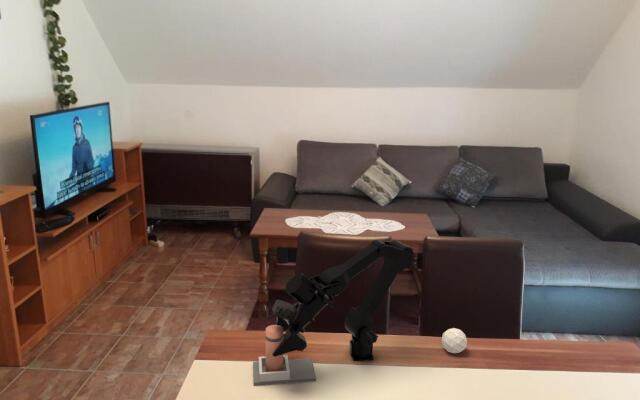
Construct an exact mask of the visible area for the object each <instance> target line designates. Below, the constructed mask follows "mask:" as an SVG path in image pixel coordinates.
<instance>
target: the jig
mask: <svg viewBox="0 0 640 400" xmlns="http://www.w3.org/2000/svg"><path fill="white" fill-rule="evenodd" d="M288 357H289V356H288V354H283V371H275V372H266V355H265V356H263V355H262V356H258V361H253V362H252V365H253V366H252V370H253V371H252V373H253V374H252V376H253V379H252V380H253V386H255V387H256V386H266V385H283V384H294V383H295V384H296V383H297V384H298V383H308V382H309V383H313V382H317V376H316V375H317V374H316V371H315V366H314V361H313V358H312V357H309V358H295V359H294V358H293V359H289V358H288Z"/></svg>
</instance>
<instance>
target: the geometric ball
mask: <svg viewBox="0 0 640 400" xmlns="http://www.w3.org/2000/svg"><path fill="white" fill-rule="evenodd" d="M441 343H442V347H443V348H444V350H446V351H447V352H449V353H451V354H458V353H461V352H462V351H464V350H465V349H466V347H467V343H468V341H467V336H466V334H465V333H464V332H463V331H462V330H461V329H459V328H455V327H452V328H448V329H447V330H446V331H444V332H443V333H442V338H441Z"/></svg>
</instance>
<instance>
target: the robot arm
mask: <svg viewBox="0 0 640 400" xmlns="http://www.w3.org/2000/svg"><path fill="white" fill-rule="evenodd" d="M414 256H415V255H414V250H413V248H412V247H410V246H409V245H407V244H405V243H403V242H401V241H399V240H394V241H387V240H380V239H374V240H373V241H371V242H370V244H368V245H367V246H366V247H365V248H363V249H362V250H360V251H359V252H358V253H356V254H355V255H354V256H352V257H350V258H349V259H348V260H346V261H345V262H344V263H342V264H339V265H335V266H330V267H329V268H327V269H325V270H322V271H321V273H319V274H317V275H316V274H315V275H314V276H312V277H309V278H308V277H307V276H306V275H305V274H303V272H300V273H299V274H298V275H295V276H293V277H291V278H290V279H288V280H287V282H286V284H285V293H286V294H288V295H289V296H290V297H292V298H293V299H295V300H296V302H295V303H293V304H291V303H290V302H287V301H284V300H281V299H276V300H275V302H274V304H273V306H272V309H271V310H272V312H273V313H272V314H273V316H274V317H276V320H275V322H274V324H273V325H279V326H281V327H282V328H283V341H282V342H281V343H280V345H279V346H278V347H277V348H276V349H275V351H274V352H273V354H272V355H273V356H274V357H276V356H279V355H282V354H283V355H286V354H287V353H292V352H295V351H297V352H299V351H300V352H301V353H302V352H304V350H305V349H306V348H308V343H307V340H306V337H305V335H303V334H304V333H305V331H306V330H305V328H306V326H307V325H308V324H309V323H312V324H314V322H315V317H316V316H318V315H319V313H320V312H321V311H322V310H323V309H324V308H326V306H328V307H330V308H332V309H333V308H334V297H336V296H339V295H340V294H341V293H342V292H343V291H344V290H345V289H346V288H347V287H348V286H349V284H350V281H351V280H352V279H353V278H355V276H357V275H358V274H360V273H361V272H362V271H364V270H366V269H367V268H368V267H369V266H371V265H372V264H373V263H375V262H377V261H378V260H379V259H380V258H382V257H383V265H382V267H381V269H380V271H379V273H378V274H377V276H376V277H375V280H374V281H373V283H372V284H371V286H370V288H369V290H368V292H367V293H366V295H365V297H364V298H363V300H362V302H361V304H360V305H359V306H357V307H351V308H350V309H349V311H348V314H346V315H345V317H344V319H345V321H344V322H343V324H344V328H345V330H346V331H348V333H349V334H351V339H350V340H349V345H348V346H349V347H348V349H349V354H350V356H351V358H352V360H353V362H356V361H357V362H359V361H360V362H361V361H373V360H374V359H375V358H374V355H373V353H374V352H373V348H374V344H376V343H377V341H378V338H379V336H378V335H377V334H376V333H375V332H374V331H372V330H373V328H374V326H375V325H374V324H375V314H376V312H377V310H378V309H379V306H380V305H381V304H382V301H383V299H384V298H385V297H386V294H387V293H388V291H389V289H390V287H391V285H392V284H393V282H394V281H395V278H396V277H397V276H398V274H400V273H401V272H403V271H404V270H406V269H407V268H408V266H409V265H410V264H411V262H412V261H413V259H414ZM284 332H285V333H284Z"/></svg>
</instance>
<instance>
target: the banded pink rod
mask: <svg viewBox="0 0 640 400" xmlns="http://www.w3.org/2000/svg"><path fill="white" fill-rule="evenodd" d="M283 334H284V332H283V328H282V327H281V326H279V325H274V324H271V325H268V326H267V327H265V333H264V338H265V356H266V372H275V371H283V355H284V354H282V355H279V356H276V357H274V356H273V355H272V354H273V352H274V351H275V349H276V348H277V347H278V346H279V345H280V343H281V342H282V341H283Z"/></svg>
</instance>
